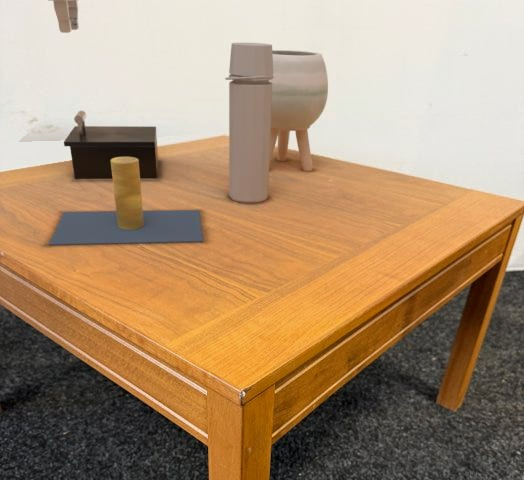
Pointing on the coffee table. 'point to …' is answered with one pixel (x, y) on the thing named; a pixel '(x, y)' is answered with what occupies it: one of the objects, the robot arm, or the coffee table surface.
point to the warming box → (99, 158)
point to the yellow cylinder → (127, 192)
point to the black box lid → (109, 135)
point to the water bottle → (249, 121)
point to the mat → (107, 231)
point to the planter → (296, 100)
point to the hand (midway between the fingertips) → (70, 31)
